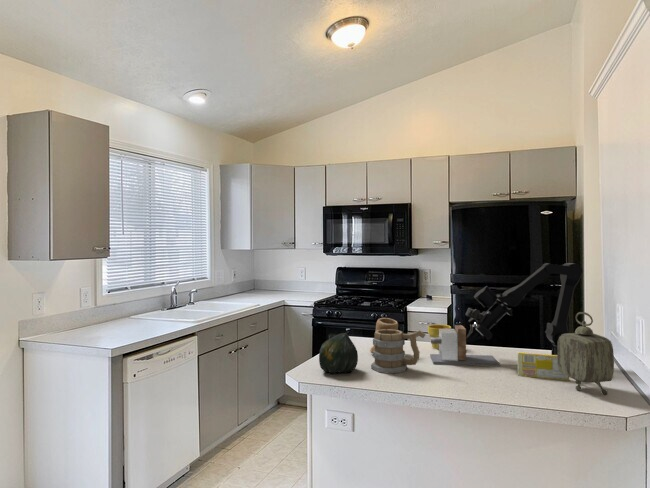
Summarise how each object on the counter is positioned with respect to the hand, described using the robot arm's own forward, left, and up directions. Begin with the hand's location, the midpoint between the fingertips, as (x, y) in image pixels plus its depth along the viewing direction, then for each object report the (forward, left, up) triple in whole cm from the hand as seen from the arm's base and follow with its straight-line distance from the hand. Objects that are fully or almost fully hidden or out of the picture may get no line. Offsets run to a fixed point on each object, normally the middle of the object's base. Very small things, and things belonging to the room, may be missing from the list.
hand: (464, 342), depth 179 cm
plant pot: (+21, -8, -8) cm, 24 cm away
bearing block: (+4, +5, -6) cm, 9 cm away
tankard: (+6, +30, -8) cm, 31 cm away
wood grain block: (+4, +5, -6) cm, 9 cm away
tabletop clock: (-45, -3, -8) cm, 46 cm away
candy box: (-30, -5, -8) cm, 31 cm away
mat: (+1, +1, -7) cm, 7 cm away
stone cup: (+28, +18, -8) cm, 34 cm away
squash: (+17, +50, -8) cm, 53 cm away
